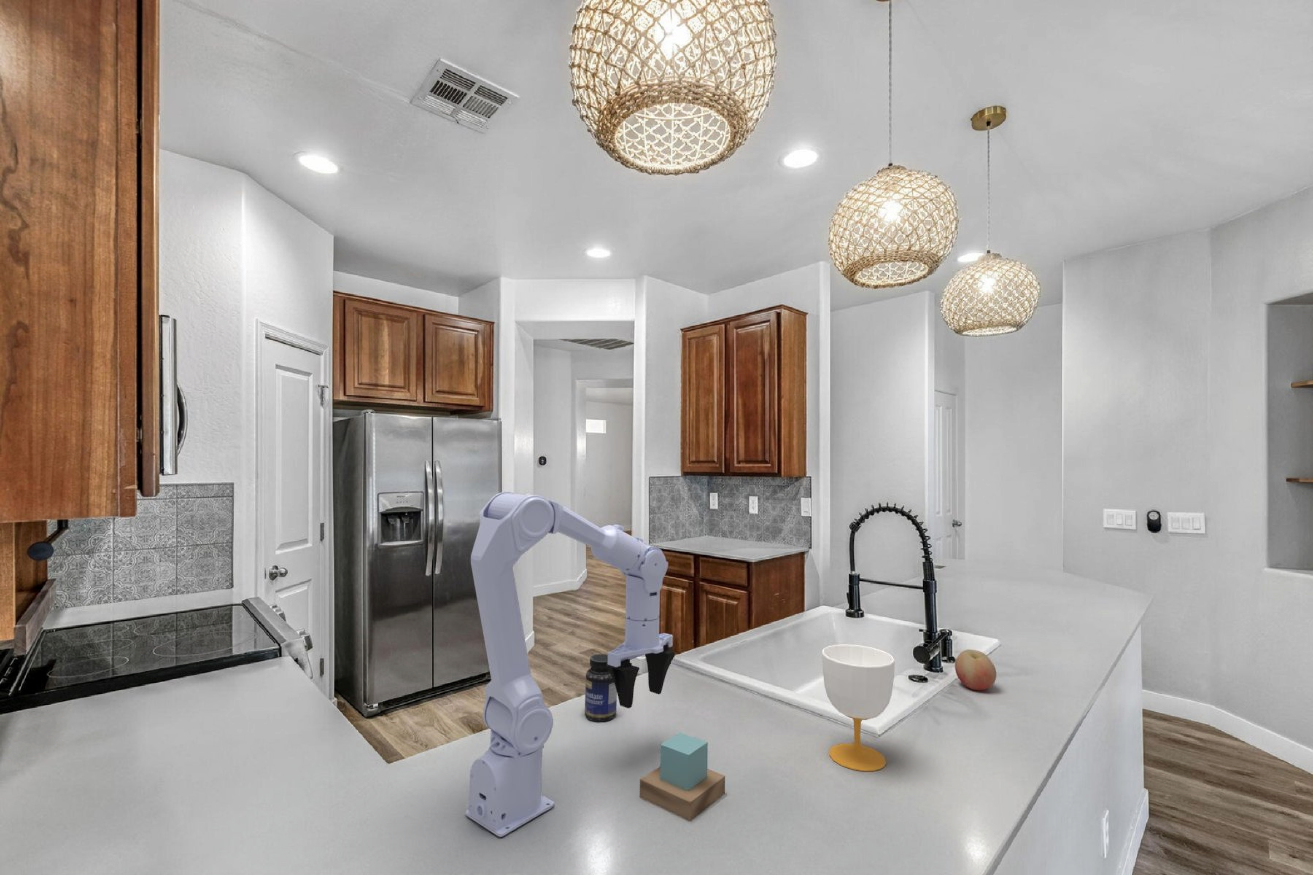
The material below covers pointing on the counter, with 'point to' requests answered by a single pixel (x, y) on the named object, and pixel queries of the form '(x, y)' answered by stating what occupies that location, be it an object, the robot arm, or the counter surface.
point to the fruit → (975, 670)
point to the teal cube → (683, 761)
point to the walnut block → (682, 794)
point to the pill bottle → (600, 690)
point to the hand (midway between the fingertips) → (640, 699)
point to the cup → (858, 696)
